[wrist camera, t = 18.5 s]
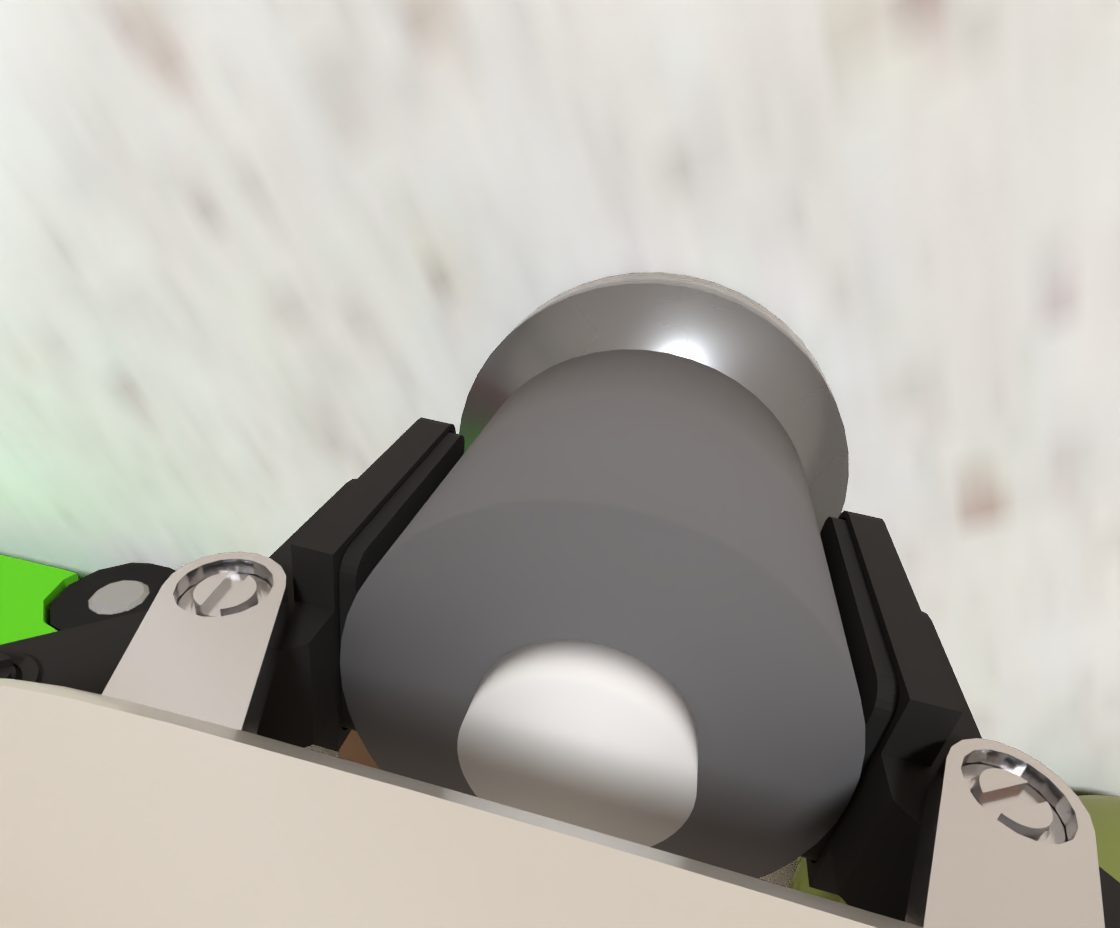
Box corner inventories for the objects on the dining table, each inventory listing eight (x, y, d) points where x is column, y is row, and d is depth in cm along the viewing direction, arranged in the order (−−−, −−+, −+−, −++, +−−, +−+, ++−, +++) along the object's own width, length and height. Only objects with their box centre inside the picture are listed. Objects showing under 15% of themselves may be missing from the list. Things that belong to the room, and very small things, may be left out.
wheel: (461, 600, 14) (320, 859, 9) (487, 316, 11) (302, 467, 6) (753, 675, 13) (774, 1000, 8) (861, 392, 10) (989, 631, 5)
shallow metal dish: (462, 560, 16) (448, 585, 16) (489, 239, 13) (472, 247, 12) (776, 637, 15) (780, 668, 15) (900, 315, 12) (914, 329, 11)
